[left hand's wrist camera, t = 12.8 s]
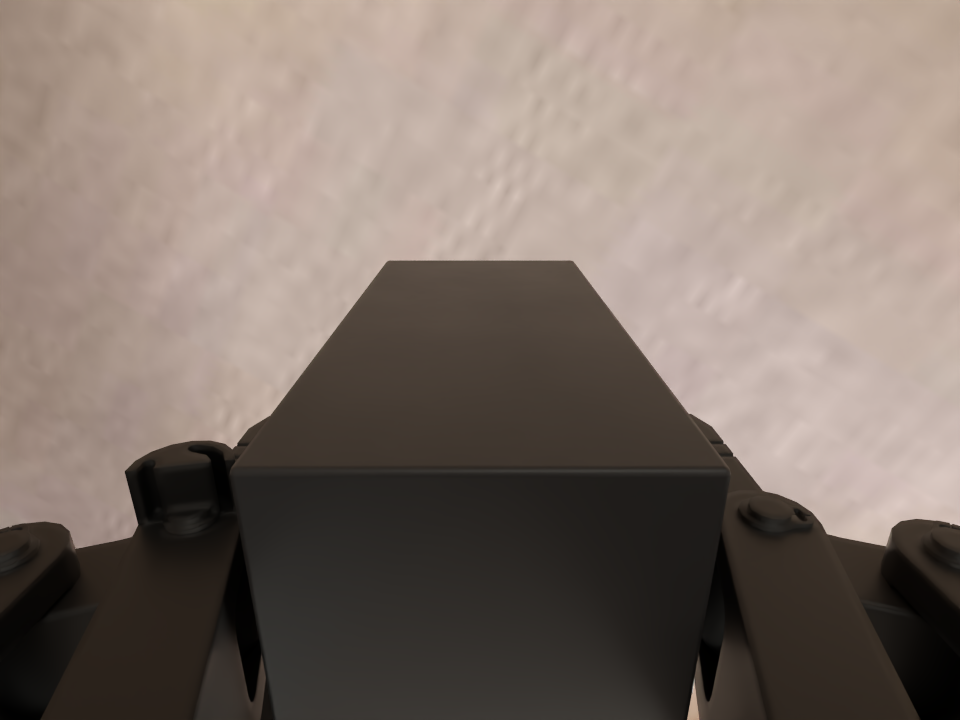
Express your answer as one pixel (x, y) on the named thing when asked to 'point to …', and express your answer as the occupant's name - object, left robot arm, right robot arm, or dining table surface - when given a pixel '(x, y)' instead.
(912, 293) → the dining table surface
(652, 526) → the bar
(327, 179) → the dining table surface
